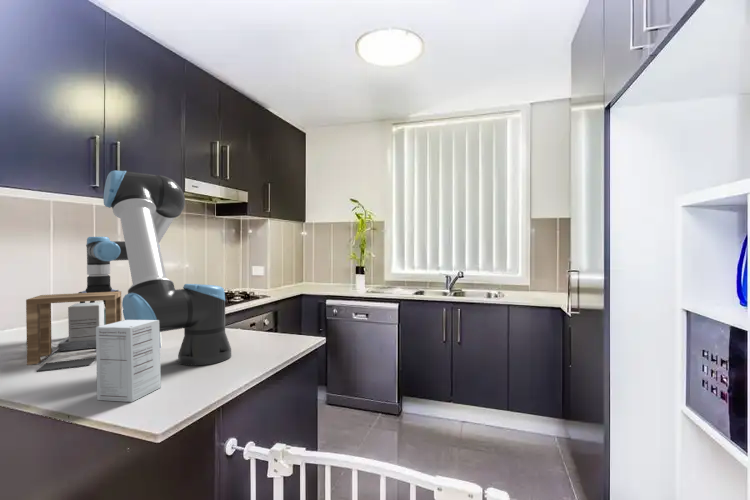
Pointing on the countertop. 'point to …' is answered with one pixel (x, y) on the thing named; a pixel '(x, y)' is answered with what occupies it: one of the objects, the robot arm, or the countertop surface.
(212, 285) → the robot arm
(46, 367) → the dark grey flat block
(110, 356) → the supplement box
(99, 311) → the supplement box
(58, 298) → the bridge
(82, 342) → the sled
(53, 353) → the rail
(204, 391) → the countertop surface
